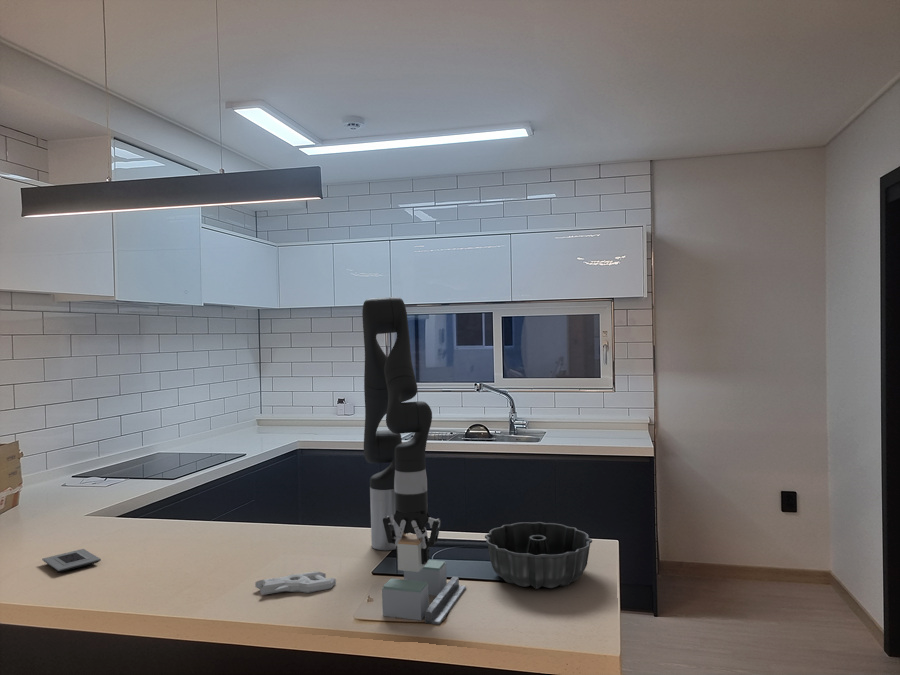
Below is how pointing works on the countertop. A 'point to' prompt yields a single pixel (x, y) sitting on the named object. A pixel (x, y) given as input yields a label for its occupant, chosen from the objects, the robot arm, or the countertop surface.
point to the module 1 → (409, 554)
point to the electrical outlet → (71, 560)
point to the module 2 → (430, 576)
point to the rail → (444, 601)
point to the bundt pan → (538, 553)
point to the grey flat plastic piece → (296, 583)
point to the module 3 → (405, 599)
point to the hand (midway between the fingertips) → (412, 562)
